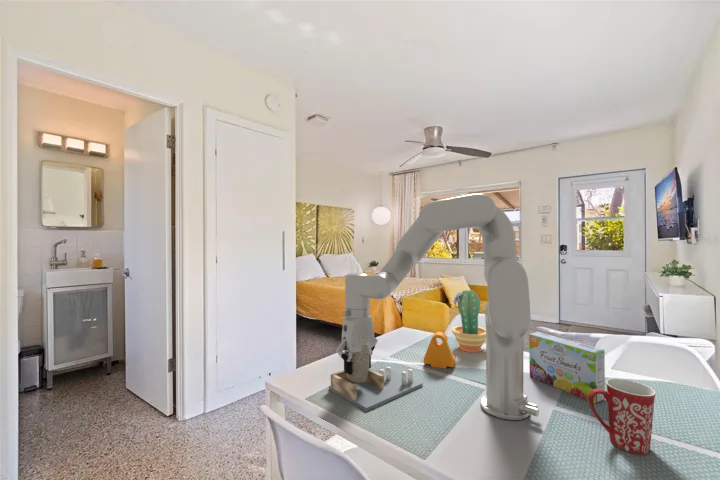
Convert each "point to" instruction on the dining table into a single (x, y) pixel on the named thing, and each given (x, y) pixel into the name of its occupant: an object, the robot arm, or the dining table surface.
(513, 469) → the dining table surface
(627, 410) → the mug
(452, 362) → the bracket
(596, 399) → the snack box
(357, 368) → the carving
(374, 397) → the board
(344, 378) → the end holder
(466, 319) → the potted cactus
